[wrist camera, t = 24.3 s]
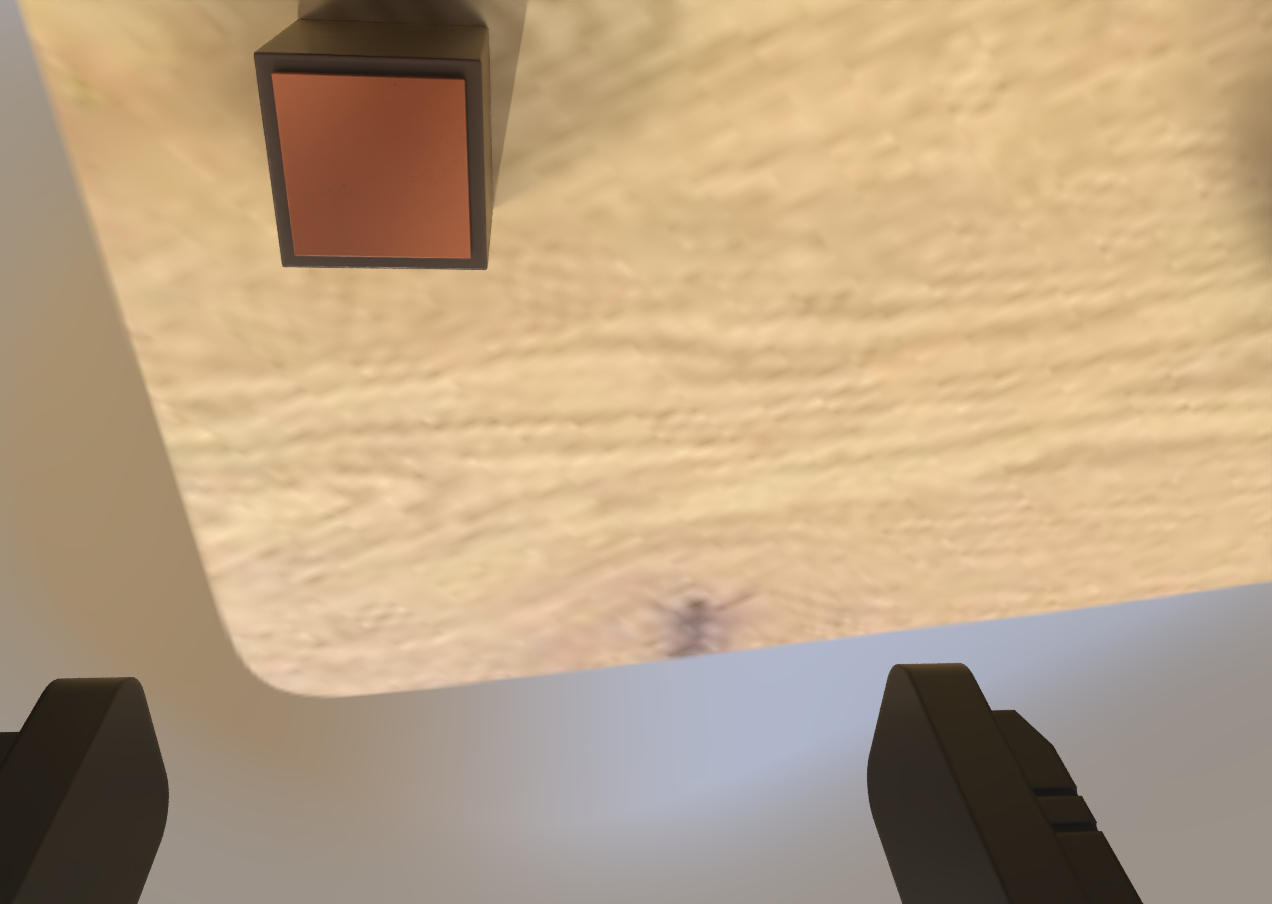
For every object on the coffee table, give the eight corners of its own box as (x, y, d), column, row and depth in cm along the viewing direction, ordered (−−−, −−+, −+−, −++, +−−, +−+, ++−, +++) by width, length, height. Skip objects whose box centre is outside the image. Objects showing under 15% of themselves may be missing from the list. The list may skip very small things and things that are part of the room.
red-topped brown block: (489, 26, 24) (481, 61, 20) (492, 209, 27) (487, 274, 23) (296, 19, 24) (249, 53, 20) (317, 206, 26) (279, 271, 22)
